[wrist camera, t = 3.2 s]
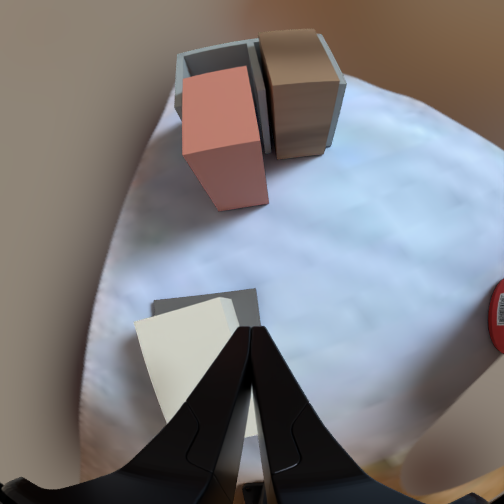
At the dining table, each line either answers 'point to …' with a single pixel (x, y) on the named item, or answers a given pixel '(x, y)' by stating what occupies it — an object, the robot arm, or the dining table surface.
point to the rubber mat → (241, 299)
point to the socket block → (251, 58)
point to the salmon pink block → (223, 138)
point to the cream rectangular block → (187, 351)
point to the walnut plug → (298, 91)
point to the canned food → (497, 317)
